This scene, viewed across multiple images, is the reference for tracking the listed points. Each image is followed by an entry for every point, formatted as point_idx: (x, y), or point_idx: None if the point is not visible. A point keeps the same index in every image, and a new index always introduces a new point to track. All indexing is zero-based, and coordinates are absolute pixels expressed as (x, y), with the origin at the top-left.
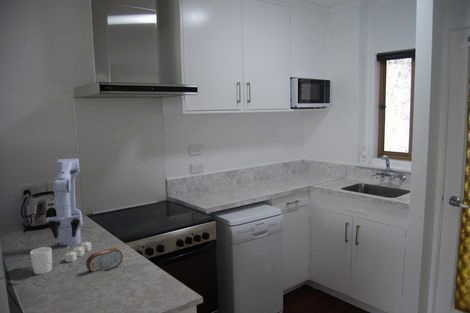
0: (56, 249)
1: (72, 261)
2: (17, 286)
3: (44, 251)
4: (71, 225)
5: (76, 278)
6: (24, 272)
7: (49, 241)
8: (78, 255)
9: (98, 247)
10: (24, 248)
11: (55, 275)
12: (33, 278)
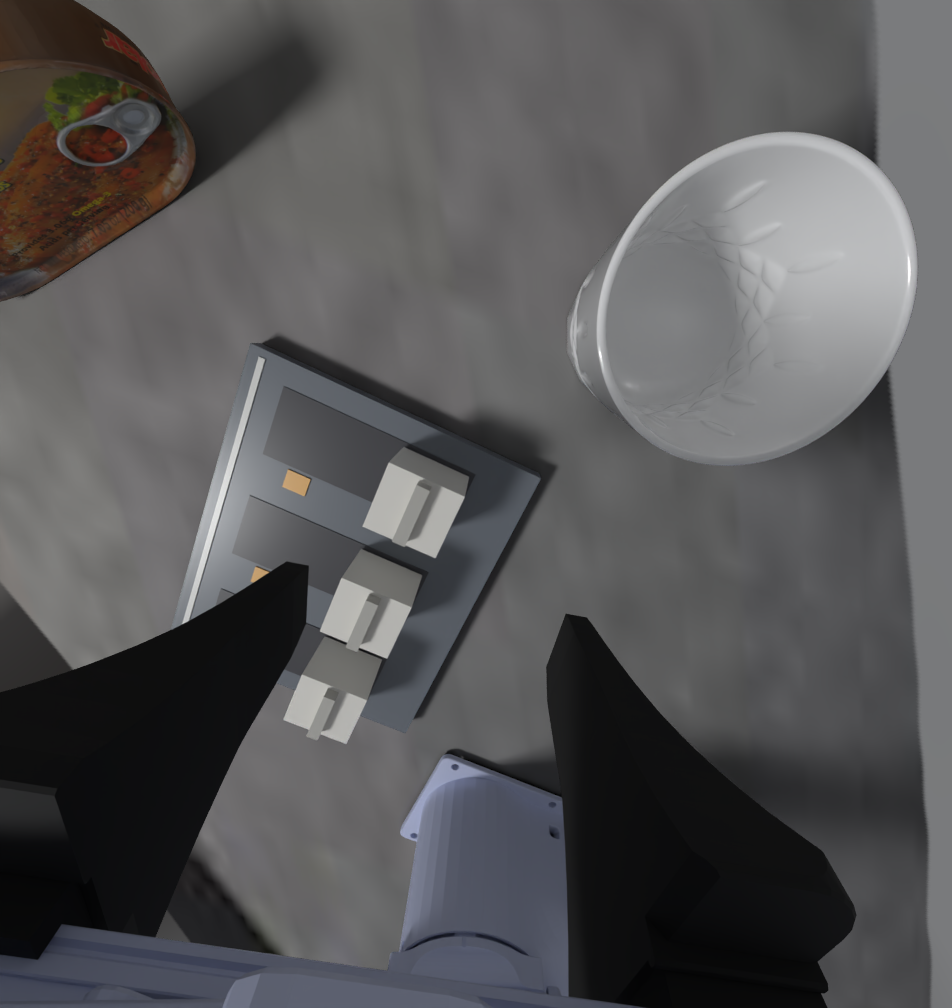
0: None
1: (408, 450)
2: (850, 60)
3: (686, 439)
4: (158, 701)
5: (310, 69)
6: None
7: None
8: (379, 560)
9: (281, 717)
10: None
11: (522, 230)
12: None
